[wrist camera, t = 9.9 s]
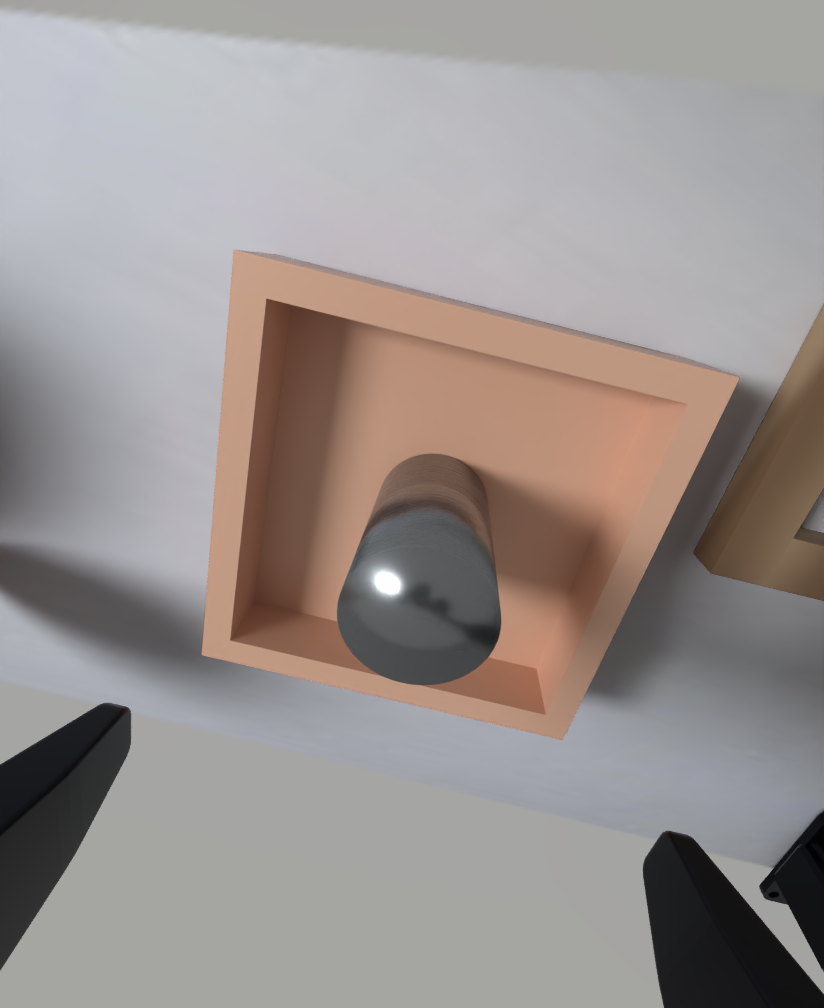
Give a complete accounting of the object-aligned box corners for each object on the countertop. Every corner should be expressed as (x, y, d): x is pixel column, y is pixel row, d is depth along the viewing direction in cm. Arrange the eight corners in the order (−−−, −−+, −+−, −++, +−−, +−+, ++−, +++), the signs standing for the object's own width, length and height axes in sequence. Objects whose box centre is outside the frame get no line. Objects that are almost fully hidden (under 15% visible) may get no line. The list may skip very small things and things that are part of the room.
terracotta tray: (687, 358, 17) (739, 377, 14) (547, 675, 23) (562, 739, 20) (275, 254, 17) (233, 249, 14) (237, 601, 23) (201, 654, 20)
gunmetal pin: (501, 468, 18) (523, 571, 12) (471, 564, 20) (475, 700, 13) (390, 441, 18) (351, 530, 12) (369, 540, 20) (325, 664, 13)
